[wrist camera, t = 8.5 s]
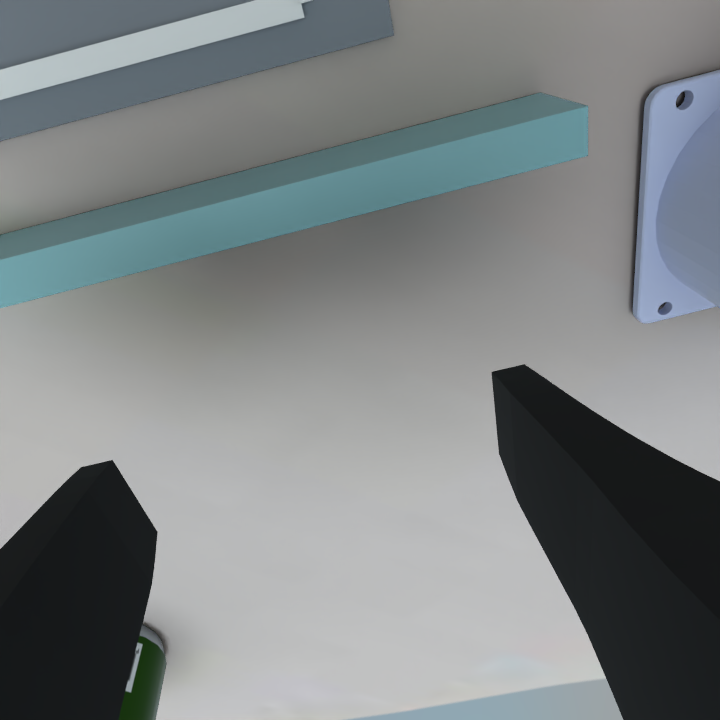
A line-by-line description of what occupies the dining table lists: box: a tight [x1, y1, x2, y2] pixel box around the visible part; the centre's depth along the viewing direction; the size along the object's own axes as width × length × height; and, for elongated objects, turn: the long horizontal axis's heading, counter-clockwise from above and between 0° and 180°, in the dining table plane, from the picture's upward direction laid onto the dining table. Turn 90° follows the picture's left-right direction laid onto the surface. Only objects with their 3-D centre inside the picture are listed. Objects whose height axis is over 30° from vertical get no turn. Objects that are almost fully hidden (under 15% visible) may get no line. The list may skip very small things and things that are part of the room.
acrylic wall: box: [0, 93, 588, 308], centre depth 15 cm, size 20×1×3 cm, turn 103°
